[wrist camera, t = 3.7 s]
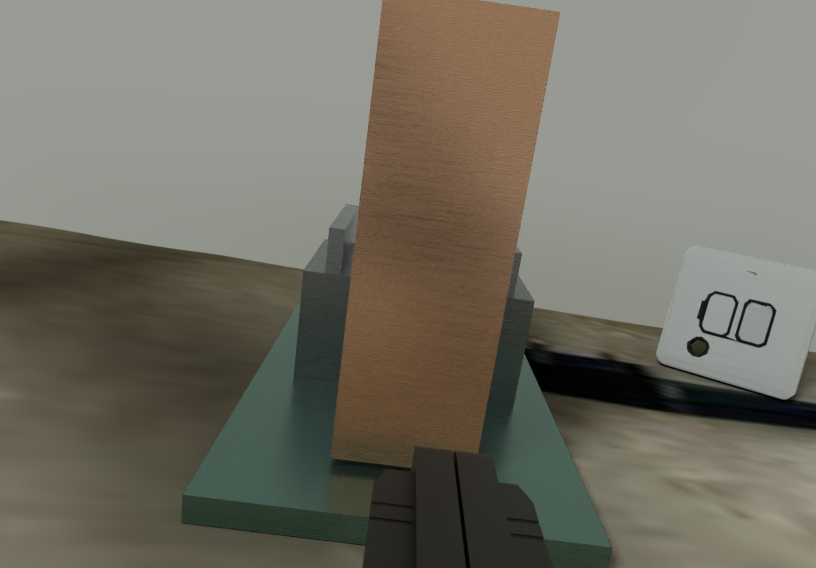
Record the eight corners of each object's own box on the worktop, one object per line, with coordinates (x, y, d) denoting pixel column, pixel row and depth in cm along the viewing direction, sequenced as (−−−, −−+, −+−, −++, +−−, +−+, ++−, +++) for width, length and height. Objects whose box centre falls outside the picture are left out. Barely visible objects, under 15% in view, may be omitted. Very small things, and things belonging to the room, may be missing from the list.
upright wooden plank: (330, 458, 26) (384, -14, 21) (355, 353, 37) (394, 29, 32) (473, 476, 26) (560, 12, 21) (455, 366, 37) (509, 46, 32)
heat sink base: (181, 522, 23) (196, 174, 20) (307, 300, 50) (322, 137, 47) (605, 574, 24) (692, 242, 20) (503, 326, 50) (533, 167, 47)
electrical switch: (651, 364, 47) (684, 243, 45) (661, 353, 51) (691, 242, 50) (792, 407, 42) (835, 275, 41) (790, 390, 47) (828, 271, 45)
